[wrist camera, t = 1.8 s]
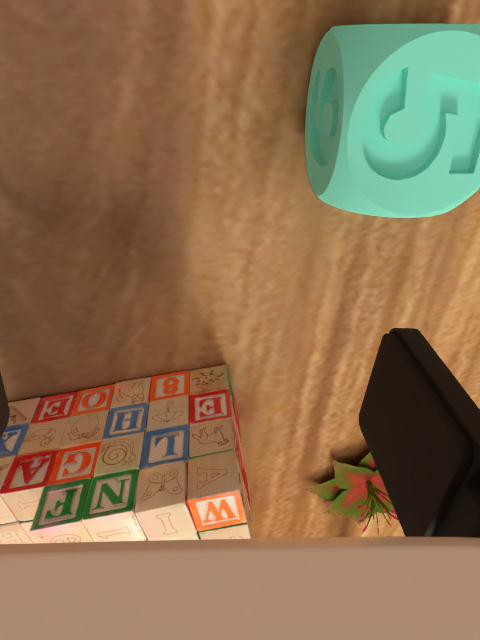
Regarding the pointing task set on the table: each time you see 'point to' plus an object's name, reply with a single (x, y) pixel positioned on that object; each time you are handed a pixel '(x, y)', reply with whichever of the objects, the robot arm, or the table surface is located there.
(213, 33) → the table surface
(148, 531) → the stack of blocks
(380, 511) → the lily flower
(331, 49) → the decorative dice
